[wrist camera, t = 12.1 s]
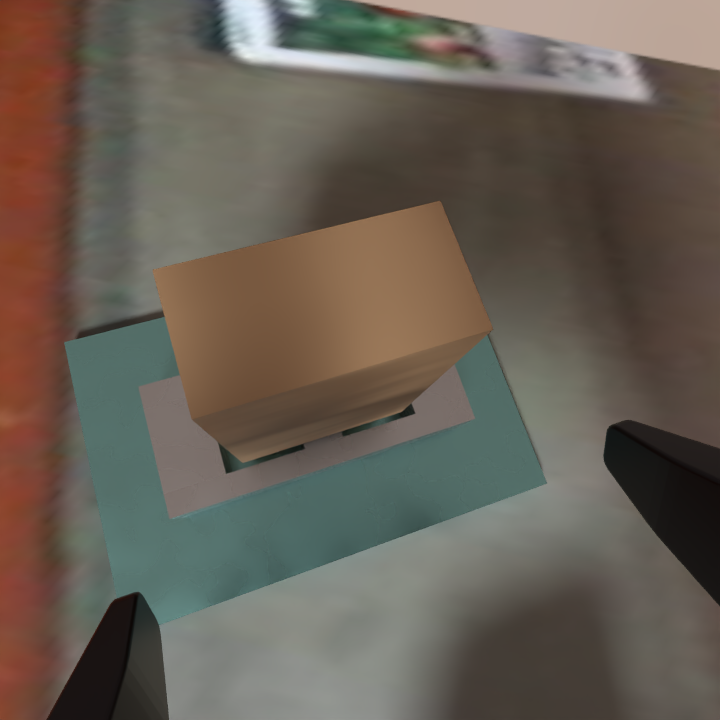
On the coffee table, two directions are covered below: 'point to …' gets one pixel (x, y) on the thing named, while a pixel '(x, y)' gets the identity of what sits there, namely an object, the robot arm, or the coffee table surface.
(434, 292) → the tan cardboard brick
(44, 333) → the coffee table surface
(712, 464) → the robot arm
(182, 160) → the coffee table surface
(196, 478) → the teal holder base
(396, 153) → the coffee table surface
